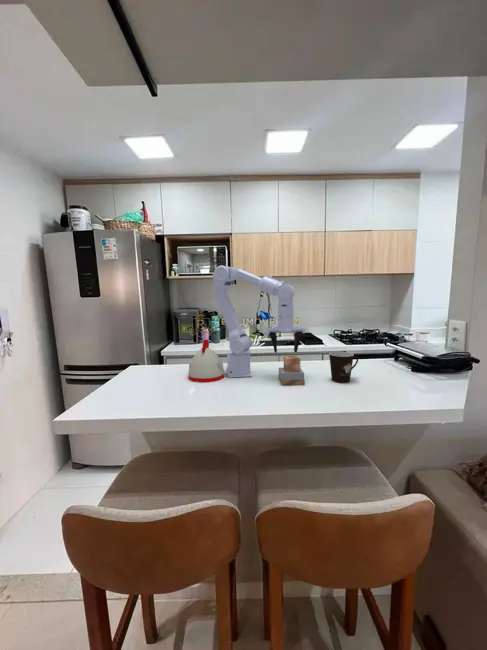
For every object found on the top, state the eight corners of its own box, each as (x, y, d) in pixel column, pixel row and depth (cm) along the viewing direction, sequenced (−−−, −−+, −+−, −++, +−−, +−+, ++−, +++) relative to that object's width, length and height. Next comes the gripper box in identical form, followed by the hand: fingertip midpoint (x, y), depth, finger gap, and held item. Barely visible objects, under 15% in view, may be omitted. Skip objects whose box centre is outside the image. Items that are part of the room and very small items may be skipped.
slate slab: (281, 380, 109) (281, 373, 108) (278, 374, 117) (278, 367, 116) (304, 379, 109) (304, 372, 109) (299, 373, 117) (299, 367, 117)
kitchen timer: (227, 373, 127) (226, 337, 125) (219, 383, 113) (218, 343, 112) (194, 372, 129) (193, 337, 127) (183, 382, 115) (182, 343, 114)
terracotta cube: (286, 372, 110) (286, 358, 109) (283, 368, 115) (283, 355, 114) (300, 371, 110) (300, 358, 109) (296, 368, 115) (296, 355, 114)
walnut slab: (282, 387, 109) (282, 380, 108) (278, 380, 117) (278, 374, 116) (304, 386, 109) (304, 379, 109) (299, 380, 117) (299, 373, 117)
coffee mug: (331, 384, 110) (332, 356, 109) (326, 377, 118) (326, 351, 117) (364, 383, 109) (365, 356, 108) (356, 376, 118) (357, 351, 117)
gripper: (267, 317, 111) (267, 354, 112) (307, 317, 111) (306, 353, 113) (265, 316, 118) (265, 350, 119) (302, 315, 118) (302, 349, 120)
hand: (285, 351), depth 117 cm, fingers open, 7 cm apart
